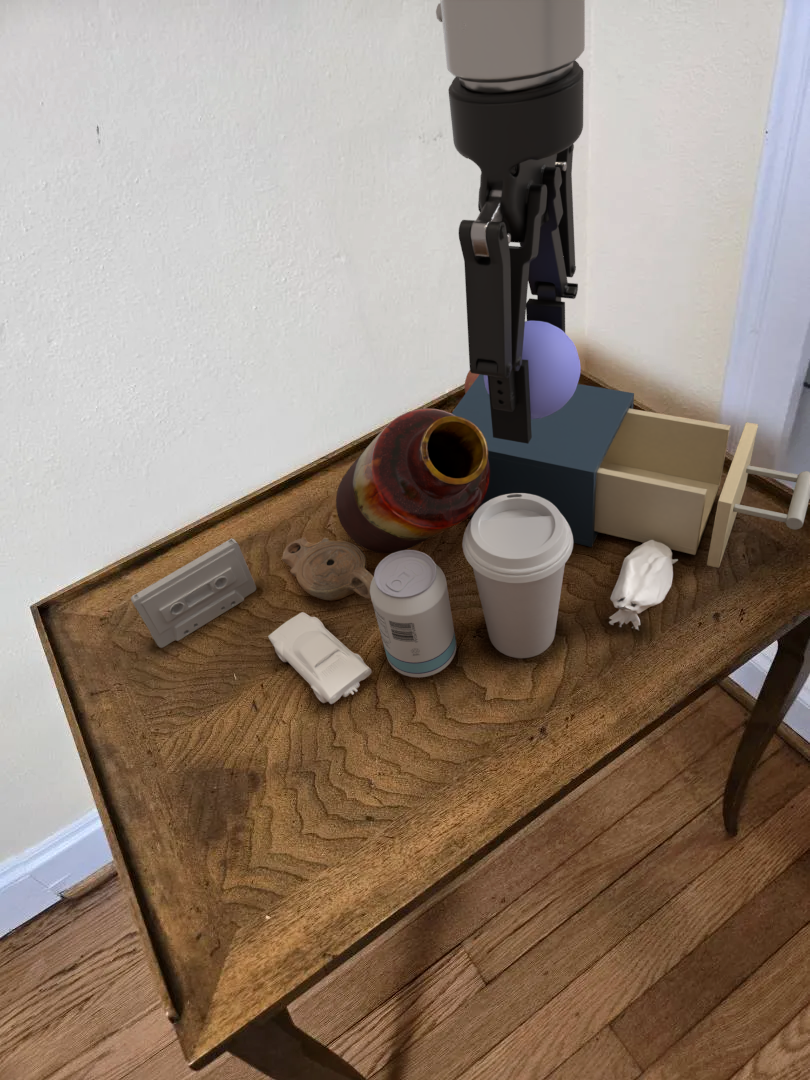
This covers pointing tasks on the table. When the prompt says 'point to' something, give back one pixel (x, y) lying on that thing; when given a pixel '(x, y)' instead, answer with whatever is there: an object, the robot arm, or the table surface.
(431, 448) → the vase
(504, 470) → the cabinet
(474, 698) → the table surface
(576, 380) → the sphere
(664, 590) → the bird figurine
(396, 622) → the beverage can
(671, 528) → the drawer
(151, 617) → the cassette
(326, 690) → the toy car
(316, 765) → the table surface
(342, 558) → the oil lamp
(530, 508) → the coffee cup
